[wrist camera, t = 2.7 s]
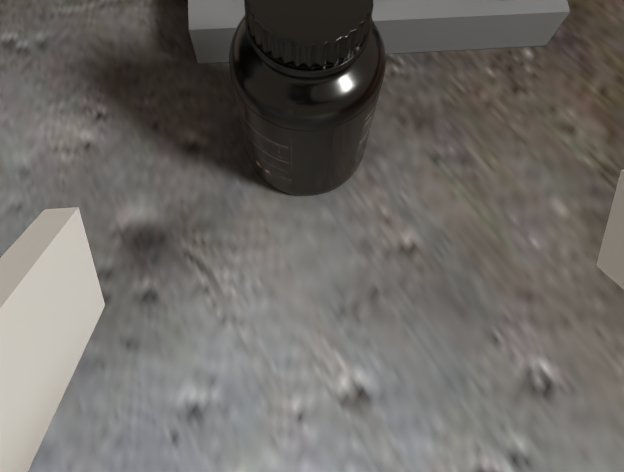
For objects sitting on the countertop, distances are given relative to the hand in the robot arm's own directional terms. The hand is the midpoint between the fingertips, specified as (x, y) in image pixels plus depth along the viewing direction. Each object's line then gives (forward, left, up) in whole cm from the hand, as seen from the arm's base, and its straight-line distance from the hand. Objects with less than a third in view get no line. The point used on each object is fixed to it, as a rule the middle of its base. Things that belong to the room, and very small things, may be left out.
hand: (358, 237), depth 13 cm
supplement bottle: (0, +10, -15) cm, 18 cm away
